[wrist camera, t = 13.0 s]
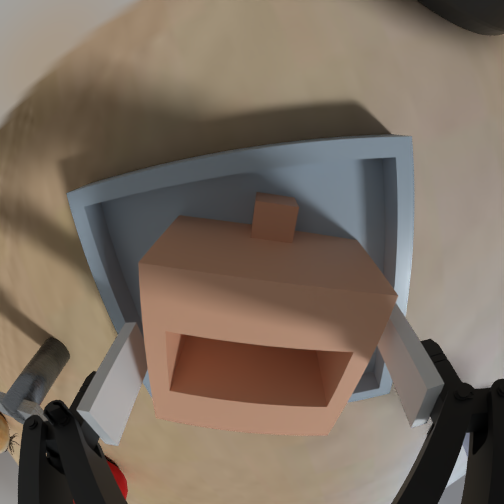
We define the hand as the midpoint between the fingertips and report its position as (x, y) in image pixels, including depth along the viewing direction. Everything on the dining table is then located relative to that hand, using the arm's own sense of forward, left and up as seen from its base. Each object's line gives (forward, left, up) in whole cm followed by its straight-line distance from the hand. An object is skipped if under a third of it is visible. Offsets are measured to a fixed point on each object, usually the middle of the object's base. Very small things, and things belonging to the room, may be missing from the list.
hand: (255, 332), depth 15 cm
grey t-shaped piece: (+4, -19, -4) cm, 20 cm away
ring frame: (0, 0, -3) cm, 3 cm away
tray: (0, 0, -4) cm, 4 cm away
